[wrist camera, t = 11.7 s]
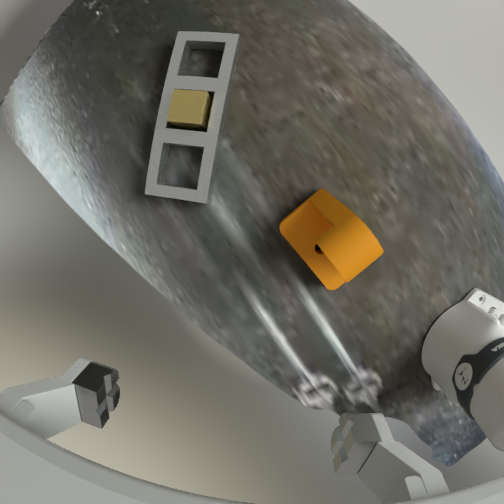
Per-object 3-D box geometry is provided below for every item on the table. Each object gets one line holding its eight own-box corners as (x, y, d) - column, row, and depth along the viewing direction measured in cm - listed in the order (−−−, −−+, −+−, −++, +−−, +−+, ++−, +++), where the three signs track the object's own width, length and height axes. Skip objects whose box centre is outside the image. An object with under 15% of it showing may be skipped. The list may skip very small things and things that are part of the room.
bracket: (275, 224, 40) (277, 242, 28) (319, 188, 38) (339, 190, 26) (327, 286, 41) (346, 325, 29) (369, 252, 40) (403, 278, 28)
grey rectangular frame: (241, 43, 34) (239, 34, 31) (211, 202, 39) (206, 203, 36) (184, 40, 35) (178, 31, 32) (153, 193, 39) (144, 194, 37)
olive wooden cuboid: (214, 101, 36) (206, 91, 32) (208, 130, 37) (200, 124, 33) (184, 99, 37) (173, 89, 32) (179, 127, 37) (166, 121, 33)
